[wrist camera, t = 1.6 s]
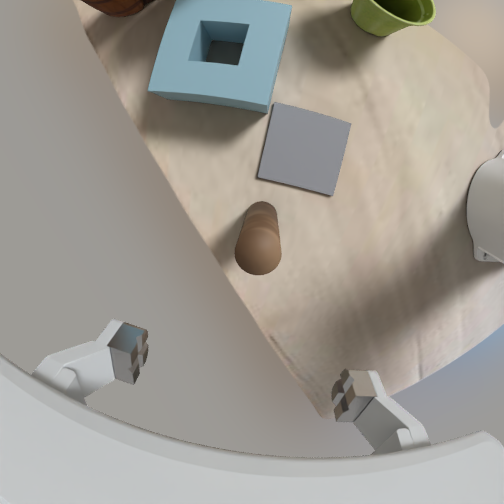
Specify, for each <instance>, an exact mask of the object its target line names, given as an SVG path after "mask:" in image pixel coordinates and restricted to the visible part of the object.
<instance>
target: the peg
mask: <svg viewBox="0 0 504 504" xmlns="http://www.w3.org/2000/svg"><path fill="white" fill-rule="evenodd" d="M235 259H236V262H237V264H238V265H239V266H240V268H241V269H243V270H244V271H245V272H247V273H249V274H253V275H264V274H267V273H270V272H271V271H273V270H274V269H275V268H276V267H277V266H278V264H279V262H280V260H281V244H280V236H279V228H278V219H277V213H276V210H275V208H274V207H273V206H272V205H271V204H269V203H267V202H263V201H261V202H256V203H254V204H252V205H251V206H250V207H249V209H248V211H247V214H246V217H245V220H244V223H243V226H242V229H241V232H240V235H239V238H238V241H237V244H236V247H235Z"/></svg>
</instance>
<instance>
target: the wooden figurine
mask: <svg viewBox="0 0 504 504" xmlns="http://www.w3.org/2000/svg"><path fill="white" fill-rule="evenodd" d="M81 1H83V2H85V3H86V4H88V5H90V6H91V7H93V8H95V9H97V10H99V11H101V12H103V13H105V14H107V15H110V16H114V17H122V16H128V15H132V14H134V13H137V12H139V11H140V10H142V9H143V8H144V5H145V4H147V3H149V2H151V1H153V0H81Z"/></svg>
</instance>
